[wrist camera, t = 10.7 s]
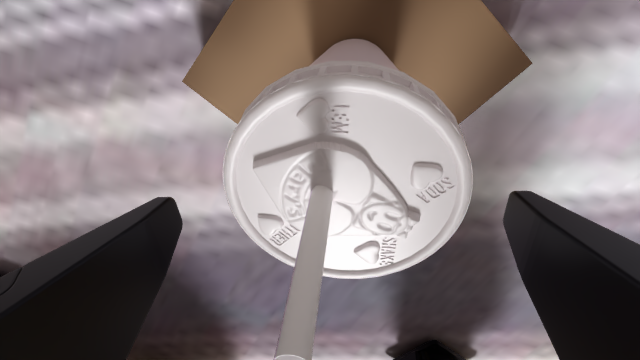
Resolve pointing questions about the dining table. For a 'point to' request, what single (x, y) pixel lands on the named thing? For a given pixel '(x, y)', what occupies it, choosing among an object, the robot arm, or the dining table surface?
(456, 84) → the walnut riser
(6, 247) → the dining table surface
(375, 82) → the smoothie
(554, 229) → the robot arm
